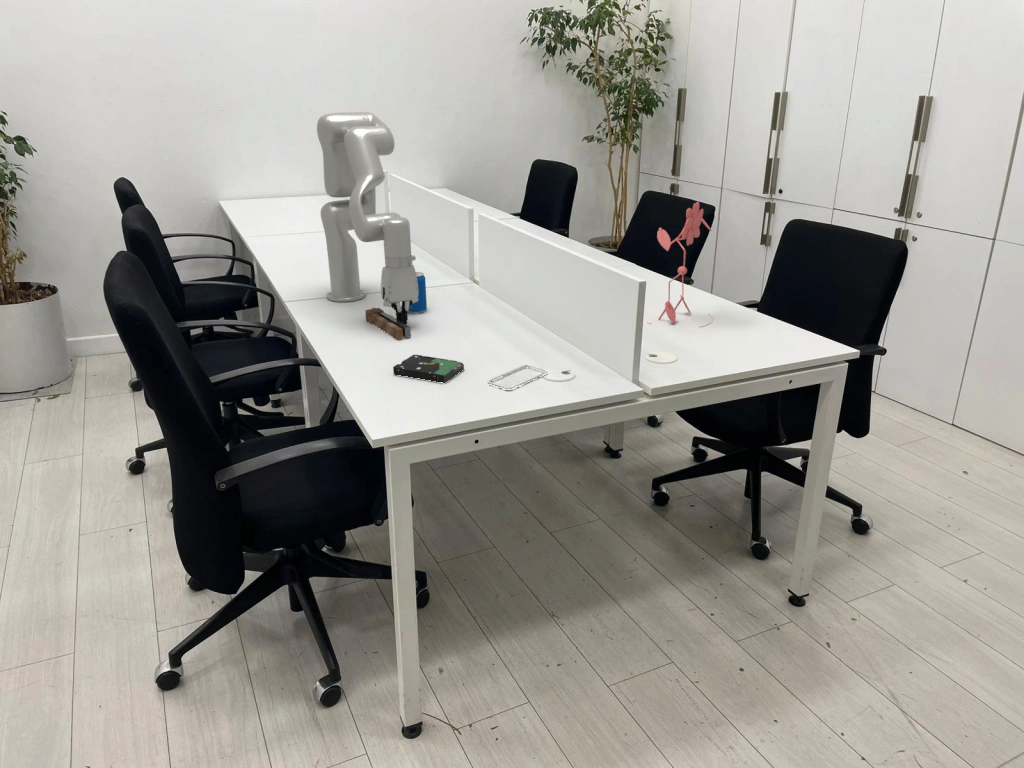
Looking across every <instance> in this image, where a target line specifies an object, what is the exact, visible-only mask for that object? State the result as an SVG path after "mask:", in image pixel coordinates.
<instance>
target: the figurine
mask: <svg viewBox="0 0 1024 768" xmlns="http://www.w3.org/2000/svg"><path fill="white" fill-rule="evenodd" d="M703 216H704V208H701V209H700V201H699V200H698V201H696V202H694V203H693V205H692V207H688V208H687V209H686V212H685V217H686V220H685V221H686V222H685V224H684V226H683V228H682V230H681V232H680V233H679V234H678V236H677V237H675V239H673V240H672V241H671V237H670V235H669V234H668V232H667V231H666V230H665V229H663V228H662V227H659V228H658V230H657V233H656V234H657V235H656V239H657V241H658V243H659V245H660V246H661V247H662V249H664V250H666V252H668V251H669V250H670V248H671V245H673V244H674V243H675V242H677V243H678V245H679V246H680V247H681V249H682V250H683V265H682V266H679V267H678V268H677V275H676V276H675V277H673V278H672V279H670V280H669V281H668V301H665V303H664V310H662V312H661V314H660V316H659V317H658V320H659V321H661V319H662V317H663V316H664V315H665V313H666V315H667V317H668V319H669V320H670V322H671V323H672V324H673V325H675V323H676V319H677V317H676V310H677V309H678V307H679V305H680V304H681V302H683V304H684V306H685V308H686V310H687V311H688V313H689V314H692V313H691V310H690V309H689V306H688V304H687V303H686V300H685V297H684V276H685V275H686V274H687V273H688V269H687V267H686V258H687V257H686V255H687V251H686V249H685V247H684V246H683V245H682V243H681V242H680V241H683V240H686V246H687V247H688V246H690V245H692V244H693V243H694V238H696V239H697V238H699V237H700V234H701V232H700V231H701V230H700V226H701V224H703V225H704V226H705V227H706V229H707V230H709V231H710V232H712V229H711V227H710V226H709V225H708V223H707V222H706V221H705V219H704V218H703ZM679 276H681V283H682V285H681V287H682V290H681V291H682V293H681V294H682V295H681V294H679V295H680V296H679V297H680V299H679V301H678V302H677V303H676V305H675V306H673V304H672V303H671V301H670V299H671V297H670V296H671V294H670V293H671V283H672V282H673V281H674V280H675V279H677V278H678V277H679ZM709 316H710V317H711V319H712V320H713V316H712V315H711V314H709ZM646 323H647V324H649V325H652V323H650V322H646ZM708 325H710V323H707V324H706V325H701V326H700V328H702V327H705V326H708Z"/></svg>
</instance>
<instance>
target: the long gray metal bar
mask: <svg viewBox="0 0 1024 768" xmlns="http://www.w3.org/2000/svg"><path fill="white" fill-rule="evenodd" d="M379 315H380V316H381V317H383V318H385V319H386V320H388V321H390V322H391V323H393V324H395V325H397V326H398V327H400V328H402V329H403V338H405V339H408V338H411V337H412V336H411V326H409V325H408V324H404V323H402V322H401V321H399V320H397V319H396V317H393V316H392V315H390V314H388V313H386V312H385V311H384V312H380V313H379Z"/></svg>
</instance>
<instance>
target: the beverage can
mask: <svg viewBox="0 0 1024 768" xmlns="http://www.w3.org/2000/svg"><path fill="white" fill-rule="evenodd" d="M415 272H416V276H417V282H418V301H417V302H415V303H413V304H412V305H411V306H410V307H409V310H408V311H407V313H409V312H410V313H409V314H412V313H420V314H423V313H425V311H427V308H428V304H427V289H426V288H427V283H426V276H425V275H424V272H420V271H415ZM422 312H423V313H422Z"/></svg>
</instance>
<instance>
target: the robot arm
mask: <svg viewBox="0 0 1024 768" xmlns="http://www.w3.org/2000/svg"><path fill="white" fill-rule="evenodd" d="M316 133H317V138H318V141H319V143H320V147H321V151H322V158H323V159H322V161H323V162H322V163H323V181H324V190H325V192H326V194H327V195H328V196H329V197H331V198H348V197H349V199H340V200H333V201H329V202H326V203H325V204H324V205H323V206H321V208H320V219H321V223H322V227H323V231H324V236H325V242H326V250H327V258H328V259H327V261H328V270H329V281H330V289H331V290H330V292H327V293H326V294H327V295H326V298H327V299H328V300H329V301H332V302H338V303H339V302H340V303H341V302H343V303H345V302H354V301H359V300H362V299H364V298H366V292H365V291H364V290H362V289H361V282H360V269H359V257H358V256H359V255H358V247H357V245H358V244H357V242H356V240H355V239H354V237H352V235H351V234H350V233H349V231H353V230H354V233H355V235H356V237H357V238H358V239H359V241H361V242H363V243H372V242H381V241H383V254H384V265H385V266H383V267H382V270H381V277H380V294H381V295H380V296H381V300H383V302H382V305H383V306H384V307H385V308H392V309H393V310H394V311H395V318H396V319H397V320H399V321H401V322H402V323H404V324H406V325H408V321H409V317H408V315H409V314H408V313H409V312H408V310H409V307H410V306H411V305H412V304H413V303H415V302H417V301H418V282H417V276H416V272H417V271H416V267H415V265H414V264H413V262H414V261H416V260H417V257H416V255H412V243H411V241H412V240H411V225H410V221H409V219H408V218H407V217H406V218H405V217H403V216H401V215H400V214H399V213H397V212H383V213H382V212H381V213H377V212H376V211H377V210H376V209H377V208H376V206H377V205H376V203H377V202H376V198H377V197H376V188H377V187H378V186H380V185H381V184H382V183H383V182H384V180H385V178H386V177H385V172H384V171H385V170H384V168H383V166H382V165H383V164H382V162H381V159H380V156H389V155H391V154H392V153H393V152H394V149H395V139H394V135H393V133H392V131H391V129H390V128H389V127H388V125H387V124H385V122H384V121H382V119H380V118H379V117H378V116H377V115H375V114H374V113H372V112H367V111H360V112H359V111H357V112H355V111H354V112H333V113H332V112H331V113H326V114H323V115H321V116H320V117H319V118H318V119H317V123H316Z"/></svg>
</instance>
